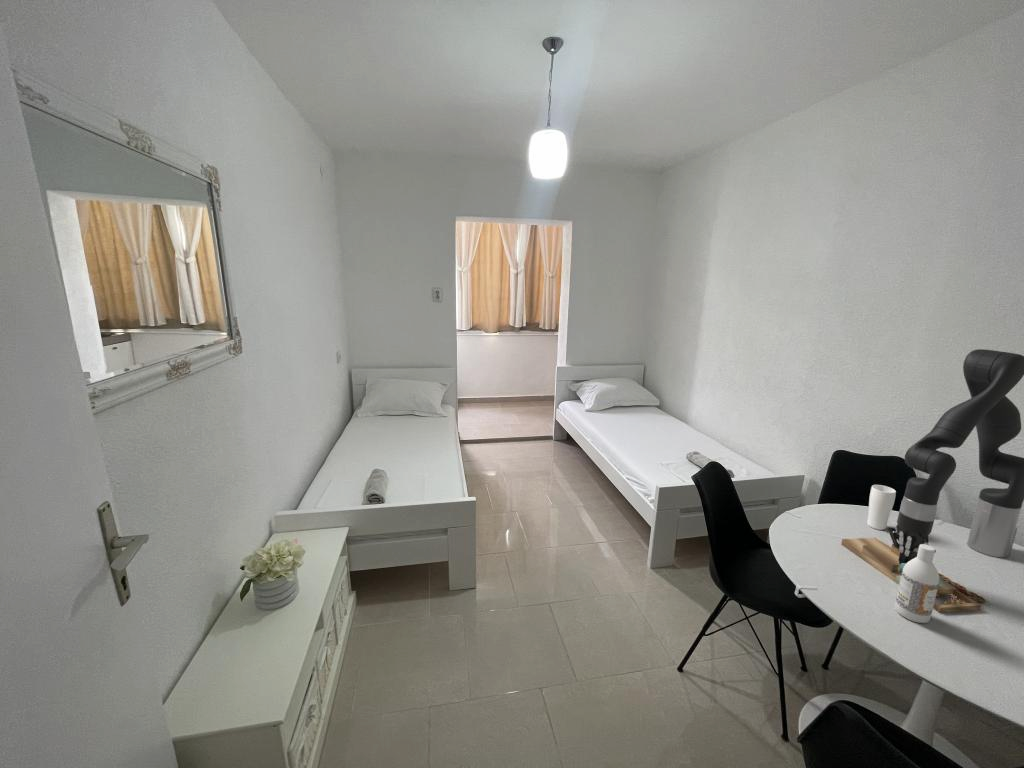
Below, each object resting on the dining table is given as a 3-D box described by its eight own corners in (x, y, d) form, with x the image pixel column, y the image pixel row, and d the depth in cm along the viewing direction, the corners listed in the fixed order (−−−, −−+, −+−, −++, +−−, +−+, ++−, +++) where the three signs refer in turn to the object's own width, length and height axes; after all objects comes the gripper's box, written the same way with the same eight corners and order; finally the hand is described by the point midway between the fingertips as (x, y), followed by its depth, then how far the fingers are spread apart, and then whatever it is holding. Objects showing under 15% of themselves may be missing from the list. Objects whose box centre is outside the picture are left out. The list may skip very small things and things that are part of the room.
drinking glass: (879, 522, 159) (886, 484, 156) (893, 532, 152) (901, 493, 149) (859, 521, 160) (866, 484, 156) (872, 531, 153) (880, 492, 150)
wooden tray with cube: (874, 542, 146) (876, 530, 145) (979, 610, 115) (983, 595, 114) (841, 544, 145) (843, 532, 144) (939, 612, 114) (942, 598, 113)
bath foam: (916, 626, 110) (932, 557, 105) (887, 607, 116) (902, 541, 112) (936, 621, 111) (953, 553, 107) (907, 603, 118) (922, 538, 113)
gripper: (953, 525, 119) (938, 579, 123) (906, 501, 132) (895, 551, 136) (928, 526, 119) (914, 580, 123) (884, 502, 132) (873, 552, 136)
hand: (904, 565), depth 129 cm, fingers closed
